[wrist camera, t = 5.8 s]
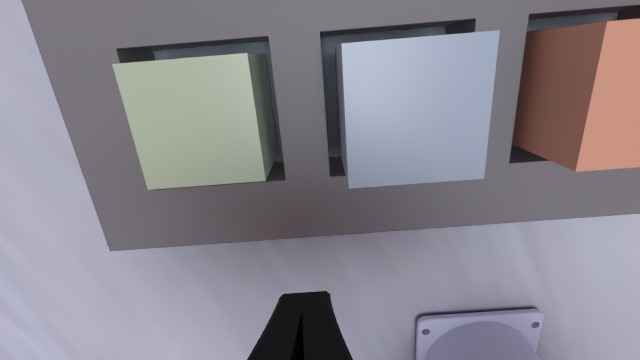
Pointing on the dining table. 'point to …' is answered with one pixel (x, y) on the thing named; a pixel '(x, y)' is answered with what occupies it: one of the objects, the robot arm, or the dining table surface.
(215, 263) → the dining table surface
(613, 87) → the terracotta button
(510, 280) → the dining table surface
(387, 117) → the slate button
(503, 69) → the button panel
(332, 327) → the robot arm
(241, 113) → the sage button
